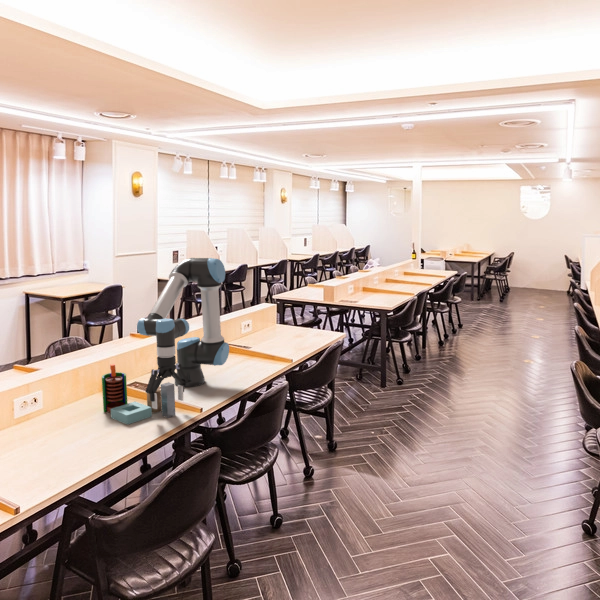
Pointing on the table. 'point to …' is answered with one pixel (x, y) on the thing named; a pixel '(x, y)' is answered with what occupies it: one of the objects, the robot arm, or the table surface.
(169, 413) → the square bit
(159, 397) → the round dowel
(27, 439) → the table surface
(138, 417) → the socket block
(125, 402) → the motor
